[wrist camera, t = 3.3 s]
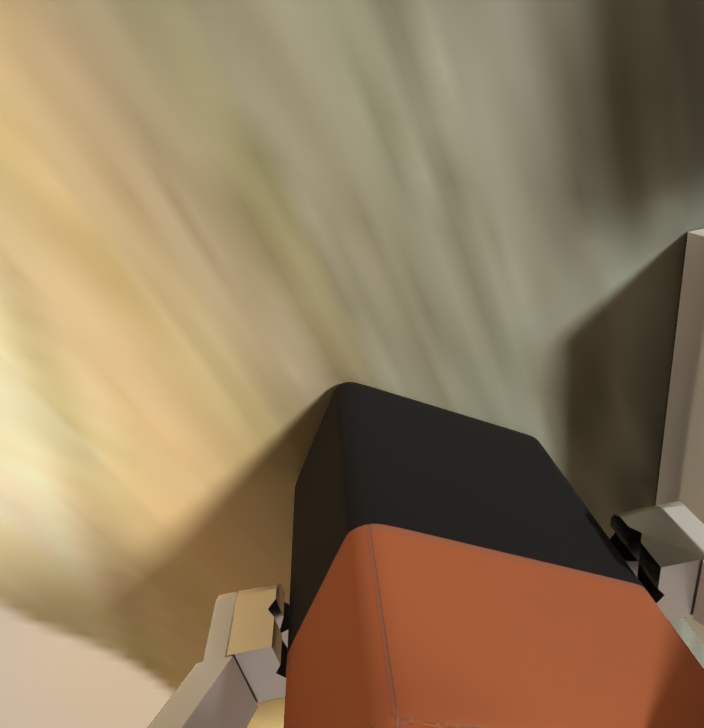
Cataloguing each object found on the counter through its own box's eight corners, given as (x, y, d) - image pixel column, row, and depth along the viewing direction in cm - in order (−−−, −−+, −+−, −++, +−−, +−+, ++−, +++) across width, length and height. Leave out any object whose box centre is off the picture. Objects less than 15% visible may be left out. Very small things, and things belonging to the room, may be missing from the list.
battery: (477, 531, 17) (667, 995, 8) (291, 486, 15) (262, 997, 6) (541, 432, 15) (878, 881, 6) (338, 370, 13) (392, 846, 5)
